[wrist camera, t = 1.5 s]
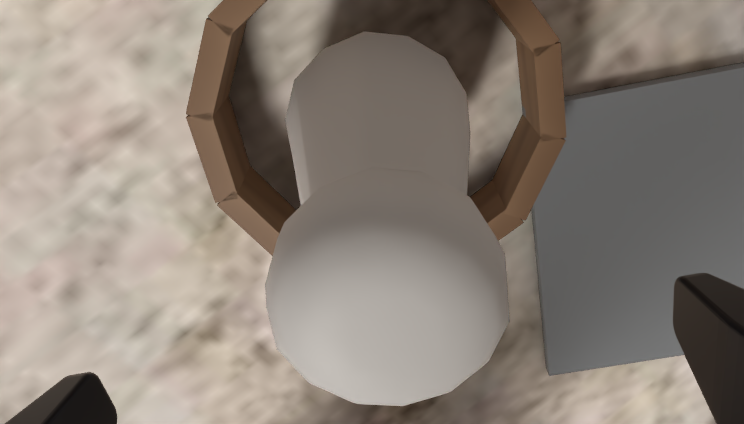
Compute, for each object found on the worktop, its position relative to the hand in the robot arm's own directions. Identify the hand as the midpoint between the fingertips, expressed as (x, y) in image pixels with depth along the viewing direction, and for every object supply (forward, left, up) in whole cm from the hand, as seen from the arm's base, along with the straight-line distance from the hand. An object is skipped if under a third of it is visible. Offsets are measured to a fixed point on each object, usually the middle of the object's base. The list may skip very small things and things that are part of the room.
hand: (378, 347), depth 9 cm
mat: (-7, -11, -13) cm, 19 cm away
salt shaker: (0, 0, -14) cm, 14 cm away
